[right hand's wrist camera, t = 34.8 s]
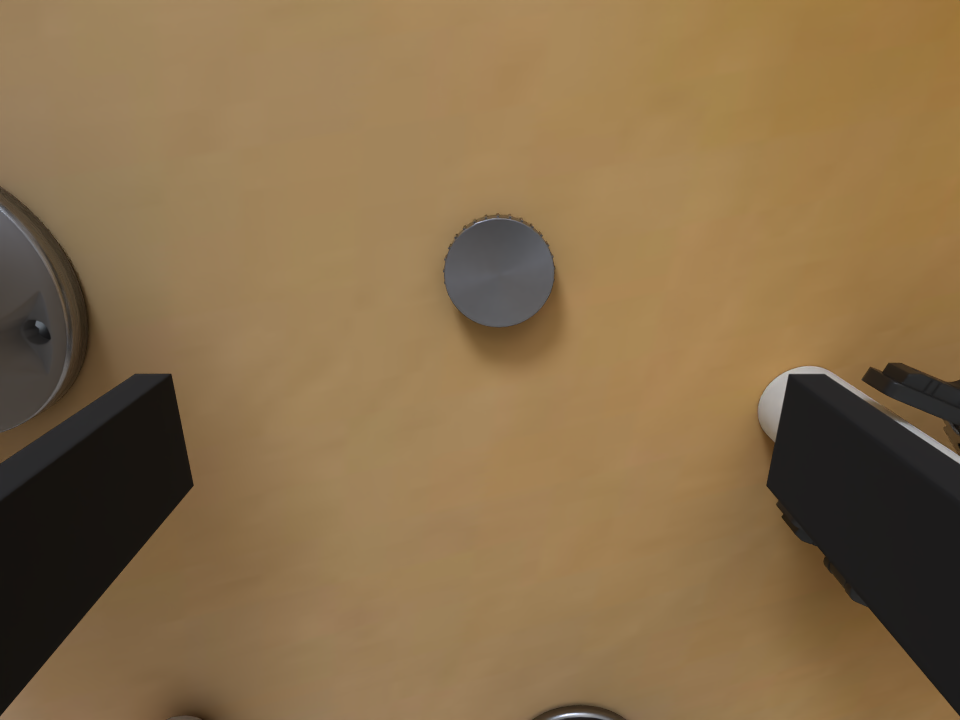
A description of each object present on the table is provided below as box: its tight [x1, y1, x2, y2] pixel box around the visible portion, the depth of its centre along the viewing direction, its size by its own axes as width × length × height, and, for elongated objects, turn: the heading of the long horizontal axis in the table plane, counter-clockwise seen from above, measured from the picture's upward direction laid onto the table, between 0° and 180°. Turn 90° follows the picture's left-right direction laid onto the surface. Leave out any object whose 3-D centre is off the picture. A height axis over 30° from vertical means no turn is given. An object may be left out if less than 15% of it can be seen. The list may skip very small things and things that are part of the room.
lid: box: [443, 213, 555, 327], centre depth 30 cm, size 6×6×2 cm
